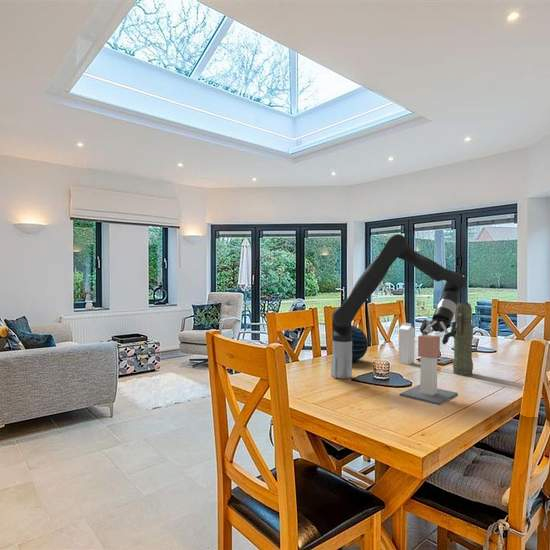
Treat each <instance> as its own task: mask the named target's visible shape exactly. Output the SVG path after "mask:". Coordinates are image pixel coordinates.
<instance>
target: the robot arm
mask: <svg viewBox="0 0 550 550" xmlns="http://www.w3.org/2000/svg"><path fill="white" fill-rule="evenodd" d="M397 258H399V259H401V260H403V261H404V262H406V263H408V264H410V265H412V266H413V267H414V268H415V269H417V270H419V271H420V272H422V273H423V274H424V275H426V276H427V277H429V278H430V279H432V280H434V281H435V282H437V283H438V282H441V281H445V283H444V285H443V287H442V294H441V297H440V300H439V302H438V303H437V305H436V307H435V310H434V312H433V315H432V319H431V320H427V319H423V321H422V324H421V325H420V328H419V332H420V333H421V336H422V335H430V334H432V333H433V332H435V333H436V332H439V333H443V332H444V335H443V337H442V345H446V344H447V343H448V342H449V340H450V338H451V337H452V338H453V337H455V335H456V331H457V328H458V326H457V324H456V322H455V321H453V318H454V317H455V310H456V306H457V303H458V302H459V298H460V296H459V293H460V292H461V291H462V290H464V289H465V287H467V284H468V281H467V279H466V277H465V276H463V274H461V273H459V272H456V271H454V270H452V269H448V268H446V267H444V266H442V265H441V264H439V263H437V262H436V261H434V260H432V259H431V258H429V257H427V256H424V255H423V254H421V253H419V252H416V251H415V250H414V249H412V248H411V247H410V246H409V245H408V241H407V238H406V237H405V236H404V235H403V234H399V233H396V234H393V235H391V236H390V237H388V238H387V241H386V242H385V245H384V247H382V249H381V251H380V252H379V254H378V255H377V257H376V258H375V259H373V261H372V262H371V263H370V264H369V265H368V266H367V268H366V269H365V270H364V271H363V272H362V274H361V275H360V277H359V278H358V279H357V281H356V282H355V284H354V287H353V288H352V290H351V292H350V294H349V295H348V297H347V298H346V299H345V301H344V302H343V303H342V304H341V305H340V306H338V307H336V308H335V309H334V310H333V311H332V316H331V319H332V321H331V323H332V324H331V325H332V326H331V329H332V331H331V334H332V337H333V349H332V355H330V376H332V378H334V379H342V380H345V379H351V378H353V362H352V330H351V326H352V322H353V321H354V319H355V317H356V315H357V313H358V312H359V311H360V309H361V307H362V306H363V305H364V304H365V303H366V301H367V300H368V299H370V297H371V296H372V294H373V293H374V292H375V291H376V289H377V288H378V287H379V285H380V284H381V283H382V282H383V280H384V279H385V278H386V277H385V276H386V274H387V273H388V271H389V270H390V268H391V266H392V265H393V263H394V262H395V261H396V260H397ZM452 321H453V322H452ZM449 328H451V329H450V331H449V330H448V329H449Z"/></svg>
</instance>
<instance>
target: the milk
mask: <svg viewBox="0 0 550 550" xmlns="http://www.w3.org/2000/svg"><path fill="white" fill-rule="evenodd" d="M398 363H400V364H404V365H410V364H414V363H415V328H414V327H413V326H412V323H410V322H401V325H400V327H398Z"/></svg>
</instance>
